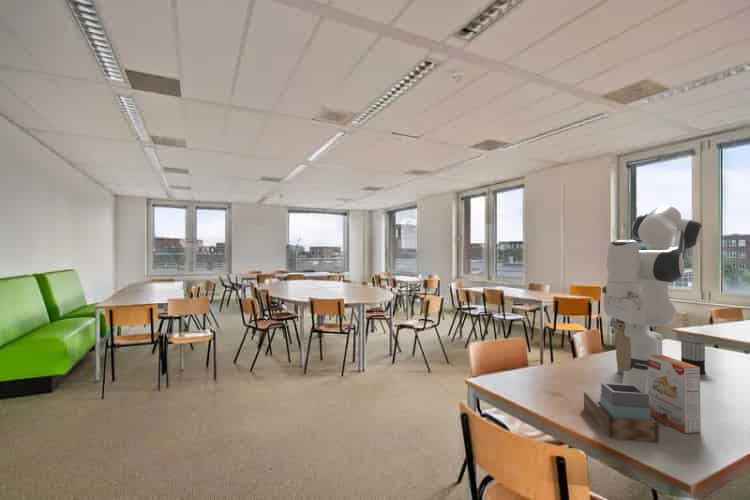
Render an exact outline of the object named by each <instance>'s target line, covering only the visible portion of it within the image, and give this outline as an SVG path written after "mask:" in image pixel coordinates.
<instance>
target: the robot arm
mask: <svg viewBox="0 0 750 500" xmlns="http://www.w3.org/2000/svg"><path fill="white" fill-rule="evenodd" d="M631 226H632V227H631V229H632V235H633V236H634V238H635V239H638V240H641V241H640V242H642V243H643V244H645V245H646V246H647V248H646V250H645V249H644V250H640V248H639V247H640V246H639V242H638V241H637V240H634V239H620V240H619V239H616V240H613V241H611V242H610V243H609V245H608V250H607V260H606V269H607V272H608V275H607V279H606V285H605V286H602V288H601V293H602V294H603V310H604V313H605V316H609V317H611V318H613V321H623V322H624V324H625V330H623V332H624V333H623V335H624V336H626V337H630V344H631V364H630V370H629V371H624V375H622V376H623V377H622V381H621V384H629V385H636V386H637V387H639V388H640V389H642V390H643V391H645V392H646V393H647V394H648V356H649V355H658V339H657V338H656V336H655V335H653V334H652V332H653V331H652V332H651V330H650V328H649V325H650V326H653V327H657V326H658V327H662V326H669V325H671V324H672V323H674V321H675V320H676V318H677V309H676V306H675V305H674V304H673V302H672V301H671V300H670V295H669V285H670V283H674V282H676V281H678V280H679V279H680V278H682V277H683V276H684V272H685V251H686V250H687V249H691V248H693V247H695V246H697V244H698V243H699V242H700V241H701V240H702V238H703V235H704V234H703V233H704V230H703V229H704V228H703V225H702V224H701V222H699V221H697V220H693V219H687V218H682V215H681V212H680V211H679V210H678V209H677V208H675V207H674V206H670V205H662V206H658V207H657V208H656V207H655V209H652V211H650V212H649V213H646V214H641V215H639V216H637V217H636V219H635V220H634V221H633V224H632V225H631ZM634 325H636V328H634ZM633 328H634V329H633ZM615 332H616V333H617V329H616V328H615Z"/></svg>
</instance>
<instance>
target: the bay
mask: <svg viewBox="0 0 750 500" xmlns="http://www.w3.org/2000/svg"><path fill="white" fill-rule="evenodd" d="M583 410H585V412H586V413H587V415H589V416H590V417H591V418H592V420H593V422H595V423H596V425H597V426H598V427H599V428H600V429H601V430H602V431H603V433H604V434H605V435H606V436H607V438H608V439H611V440H618V441H621V440H622V441H632V442H645V443H654V444H659V443H660V442H659V439H660V438H659V437H660V436H659V421H657V419H656V418H655V419H654V417H653V416H651V415H650V421H649V420H636V419H623V418H612V417H611V416H610V415H609V414H608V413H607V412H606V411H605V410H604V409H603V408H602V407H601V406H600V401H597V400H595V399H594V398H593V397H592V396H591V395H590V393H588V392H587V391H585V392H583Z"/></svg>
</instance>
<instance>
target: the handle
mask: <svg viewBox="0 0 750 500" xmlns="http://www.w3.org/2000/svg"><path fill="white" fill-rule="evenodd" d="M610 323H611V326H612V327H613V328H615V330H616V329H617V332H616V346H615V348H616V349H615V352H616V353H615V357H616V364H617V365H616V367H617V370H618V369H619V370H621V371H629V370H630V364H631V344H630V337H626V336H624V335H623V333H624V332H623V330H625V324H624V322H623V321H614V320H611V322H610ZM634 328H636V325H634ZM634 328H633V329H634Z"/></svg>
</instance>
